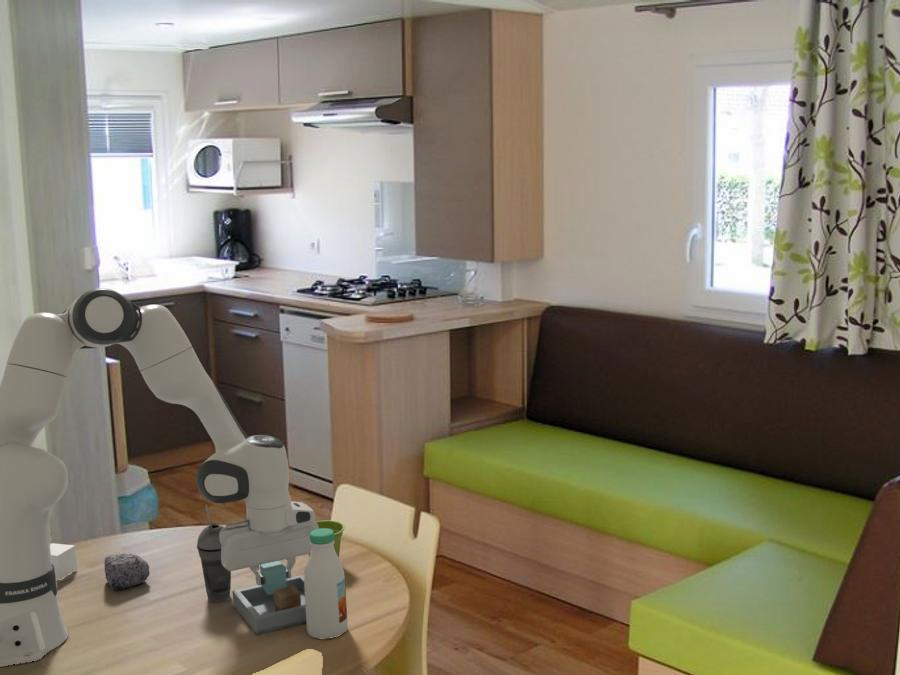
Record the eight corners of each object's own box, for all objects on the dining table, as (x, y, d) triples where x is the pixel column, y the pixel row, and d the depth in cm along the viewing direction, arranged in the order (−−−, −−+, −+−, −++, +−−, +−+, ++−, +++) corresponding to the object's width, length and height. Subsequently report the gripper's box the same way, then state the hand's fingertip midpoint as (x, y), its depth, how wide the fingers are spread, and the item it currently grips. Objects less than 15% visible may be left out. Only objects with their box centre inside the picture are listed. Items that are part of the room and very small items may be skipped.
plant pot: (355, 561, 240) (353, 524, 239) (328, 577, 232) (326, 538, 231) (321, 554, 245) (319, 517, 244) (294, 568, 237) (292, 531, 236)
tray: (257, 634, 207) (256, 619, 206) (233, 605, 220) (232, 590, 219) (331, 616, 214) (331, 600, 213) (304, 588, 227) (303, 574, 226)
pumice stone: (149, 584, 237) (103, 575, 236) (156, 551, 236) (110, 541, 235) (139, 603, 227) (91, 593, 226) (147, 569, 226) (99, 559, 225)
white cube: (60, 582, 235) (57, 555, 234) (37, 579, 236) (34, 553, 235) (77, 571, 240) (75, 545, 239) (54, 568, 242) (52, 543, 241)
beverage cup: (228, 606, 220) (221, 512, 216) (194, 604, 221) (187, 510, 217) (242, 591, 227) (235, 499, 223) (209, 589, 228) (202, 498, 224)
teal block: (268, 595, 217) (266, 571, 216) (261, 587, 221) (260, 564, 220) (287, 590, 219) (285, 567, 218) (280, 583, 222) (278, 560, 221)
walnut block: (282, 621, 210) (280, 597, 209) (275, 614, 214) (273, 590, 213) (301, 617, 212) (300, 593, 211) (294, 609, 216) (293, 585, 215)
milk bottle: (330, 644, 202) (325, 542, 198) (298, 635, 206) (292, 535, 202) (355, 627, 208) (350, 528, 205) (324, 619, 213) (318, 521, 209)
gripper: (223, 531, 209) (228, 598, 212) (322, 510, 219) (326, 575, 221) (213, 521, 215) (218, 586, 217) (311, 501, 224) (314, 564, 227)
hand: (273, 580), depth 219 cm, fingers closed on teal block, 4 cm apart
